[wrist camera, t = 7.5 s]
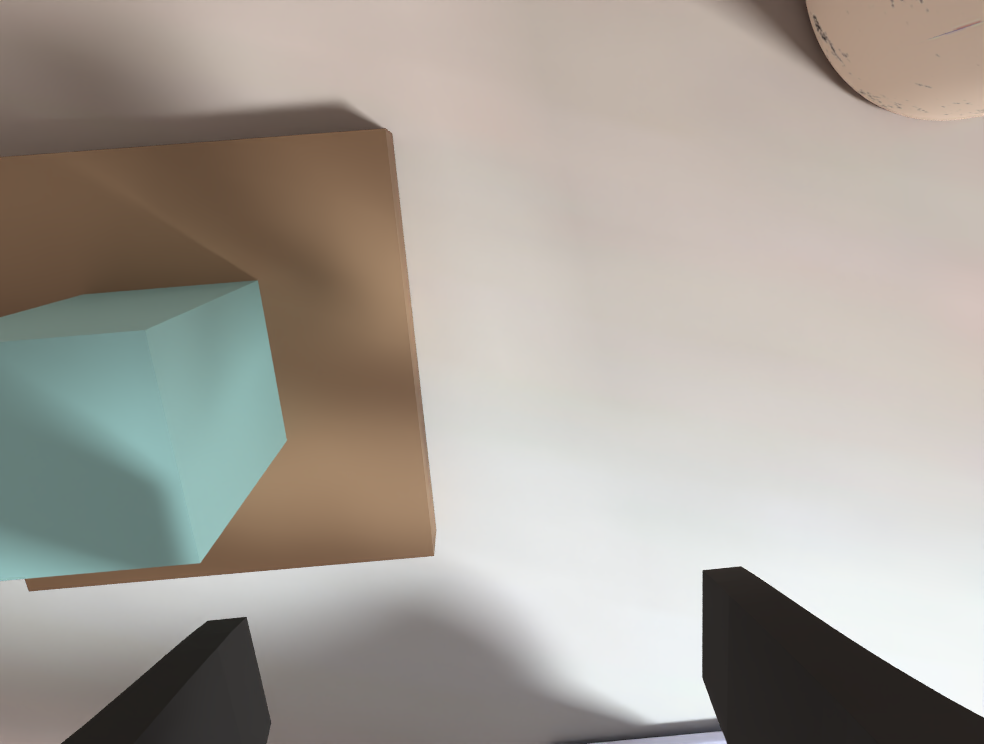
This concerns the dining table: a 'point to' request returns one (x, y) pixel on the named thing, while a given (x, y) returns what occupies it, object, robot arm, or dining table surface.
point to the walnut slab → (287, 310)
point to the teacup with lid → (907, 53)
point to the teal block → (132, 426)
